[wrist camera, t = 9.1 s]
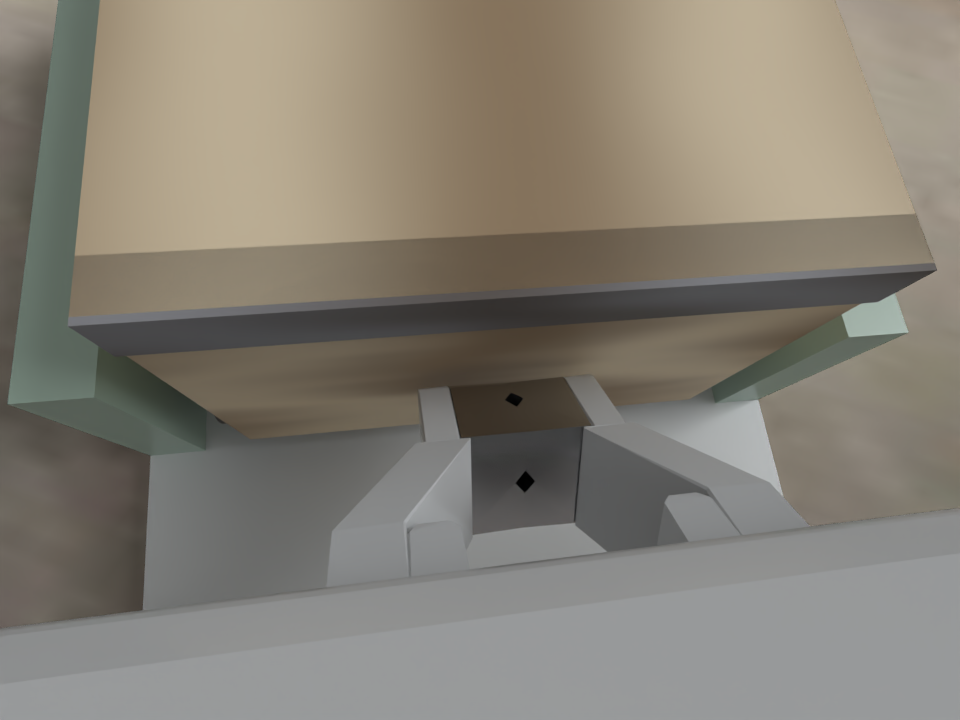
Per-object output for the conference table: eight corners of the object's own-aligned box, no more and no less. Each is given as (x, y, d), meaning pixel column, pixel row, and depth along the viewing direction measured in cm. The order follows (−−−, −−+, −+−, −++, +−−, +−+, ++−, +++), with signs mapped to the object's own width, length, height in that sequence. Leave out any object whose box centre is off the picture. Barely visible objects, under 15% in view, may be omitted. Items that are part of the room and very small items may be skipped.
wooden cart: (627, 114, 18) (786, -213, 10) (694, 410, 15) (979, 266, 7) (237, 123, 16) (80, -253, 9) (234, 454, 14) (4, 330, 6)
